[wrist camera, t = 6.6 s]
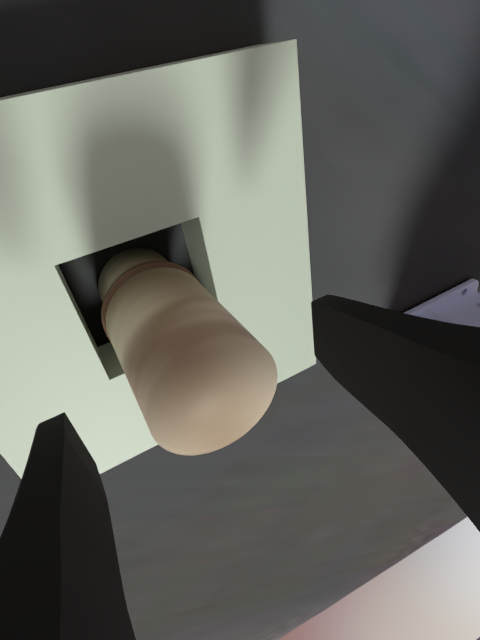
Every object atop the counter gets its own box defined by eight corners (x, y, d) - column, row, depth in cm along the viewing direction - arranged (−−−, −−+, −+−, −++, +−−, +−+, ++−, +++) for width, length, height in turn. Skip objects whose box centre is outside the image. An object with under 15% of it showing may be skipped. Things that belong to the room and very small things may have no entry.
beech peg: (167, 225, 16) (269, 312, 10) (190, 303, 18) (285, 413, 12) (72, 260, 15) (122, 382, 9) (110, 339, 17) (171, 478, 11)
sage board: (257, 44, 15) (296, 39, 13) (289, 339, 23) (315, 363, 21) (-204, 139, 10) (-251, 152, 8) (37, 460, 18) (41, 503, 16)
